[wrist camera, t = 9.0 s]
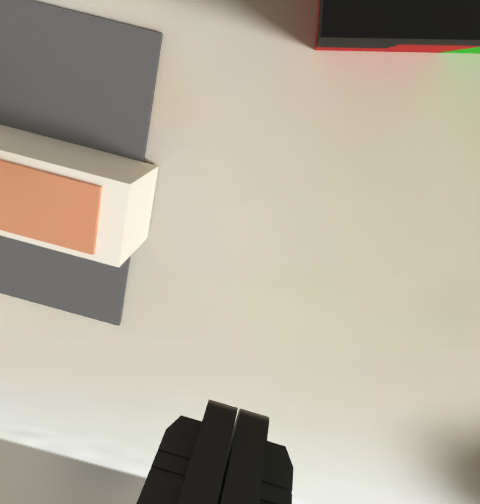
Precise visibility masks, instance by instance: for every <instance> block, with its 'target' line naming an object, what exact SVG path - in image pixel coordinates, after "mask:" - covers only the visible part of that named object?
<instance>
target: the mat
mask: <svg viewBox="0 0 480 504" xmlns="http://www.w3.org/2000/svg"><path fill="white" fill-rule="evenodd" d="M162 35H163V33H159V32H155V31H151V30H147V29H143V28H139V27H135V26H131V25H127V24H123V23H119V22H115V21H111V20H107V19H103V18H99V17H95V16H92V15H88V14H84V13H80V12H76V11H72V10H68V9H64V8H60V7H56V6H52V5H48V4H44V3H40V2H36V1H32V0H0V125H4V126H8V127H12V128H16V129H19V130H23V131H27V132H31V133H35V134H38V135H42V136H46V137H50V138H54V139H57V140H61V141H65V142H69V143H73V144H76V145H80V146H84V147H88V148H92V149H96V150H99V151H103V152H107V153H111V154H115V155H118V156H122V157H126V158H130V159H134V160H137V161H141V162H144V158H145V152H146V145H147V138H148V131H149V124H150V117H151V110H152V104H153V97H154V90H155V83H156V76H157V69H158V63H159V56H160V49H161V42H162ZM129 261H130V257H129V258H128V259H127V260H126V261H125V262H124V263H123V264H122V265H121V266H120V267H115V266H111V265H108V264H104V263H100V262H97V261H93V260H89V259H85V258H82V257H78V256H74V255H71V254H67V253H63V252H60V251H56V250H52V249H49V248H45V247H41V246H38V245H34V244H30V243H27V242H23V241H19V240H15V239H12V238H8V237H4V236H1V235H0V293H2V294H6V295H10V296H13V297H17V298H20V299H24V300H28V301H31V302H35V303H38V304H42V305H46V306H49V307H53V308H57V309H60V310H64V311H67V312H71V313H75V314H78V315H82V316H85V317H89V318H93V319H96V320H100V321H103V322H107V323H111V324H114V325H118V326H119V325H120V323H121V316H122V309H123V302H124V295H125V288H126V281H127V275H128V268H129Z"/></svg>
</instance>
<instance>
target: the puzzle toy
mask: <svg viewBox="0 0 480 504" xmlns="http://www.w3.org/2000/svg"><path fill="white" fill-rule="evenodd" d="M315 50H335V51H384V52H434V53H480V0H319V2H318V14H317V27H316V40H315Z"/></svg>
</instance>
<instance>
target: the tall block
mask: <svg viewBox="0 0 480 504" xmlns="http://www.w3.org/2000/svg"><path fill="white" fill-rule="evenodd" d="M158 167H159V166H156V165H153V164H149V163H145V162H141V161H137V160H134V159H130V158H126V157H122V156H118V155H115V154H111V153H107V152H103V151H99V150H96V149H92V148H88V147H84V146H80V145H76V144H73V143H69V142H65V141H61V140H57V139H54V138H50V137H46V136H42V135H38V134H35V133H31V132H27V131H23V130H19V129H16V128H12V127H8V126H4V125H0V235H1V236H4V237H8V238H12V239H15V240H19V241H23V242H27V243H30V244H34V245H38V246H41V247H45V248H49V249H52V250H56V251H60V252H63V253H67V254H71V255H74V256H78V257H82V258H85V259H89V260H93V261H97V262H100V263H104V264H108V265H111V266H115V267H120V266H121V265H122V264H123V263H124V262H125V261H126V260H127V259H128V258H129V257H130V256H131V254H132V253H133V252H134V251H135V250H136V249H137V248H138V247H139V246H140V245H141V244H142V243H143V242H144V241H145V240H146V239H147V236H148V230H149V224H150V218H151V211H152V205H153V199H154V192H155V186H156V180H157V174H158Z"/></svg>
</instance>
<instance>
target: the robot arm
mask: <svg viewBox="0 0 480 504" xmlns="http://www.w3.org/2000/svg"><path fill="white" fill-rule="evenodd" d="M237 409H238V408H236V407H232V406H229V405H226V404H222V403H219V402H216V401H212V400H209V401H208V404H207V408H206V411H205V414H204V417H203V421H202V422H201V421H198V420H195V419H191V418H188V417H185V416H180V417H179V418H178V419H177V420H176V421H175V422H174V423H173V424H172V425H170V426H169V427H168V428H167V429H166V431H165V434H164V436H163V439H162V441H161V444H160V446H159V449H158V452H157V454H156V456H155V459H154V461H153V464H152V467H151V470H150V471H149V474H148V476H147V479H146V481H145V484H144V486H143V489H142V491H141V494H140V497H139V499H138V501H137V504H291V503H292V494H291V492H292V482H293V466H292V463H291V460H290V458H289V455H288V452H287V450H286V447H285V446H282V445H279V444H275V443H272V442H269V441H267V434H268V426H269V417H267V416H263V415H260V414H257V413H253V412H250V411H246V410H243V409H240V410H239V412H238V415H237V418H236V414H237ZM235 419H236V422H235ZM234 424H235V425H234Z"/></svg>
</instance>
